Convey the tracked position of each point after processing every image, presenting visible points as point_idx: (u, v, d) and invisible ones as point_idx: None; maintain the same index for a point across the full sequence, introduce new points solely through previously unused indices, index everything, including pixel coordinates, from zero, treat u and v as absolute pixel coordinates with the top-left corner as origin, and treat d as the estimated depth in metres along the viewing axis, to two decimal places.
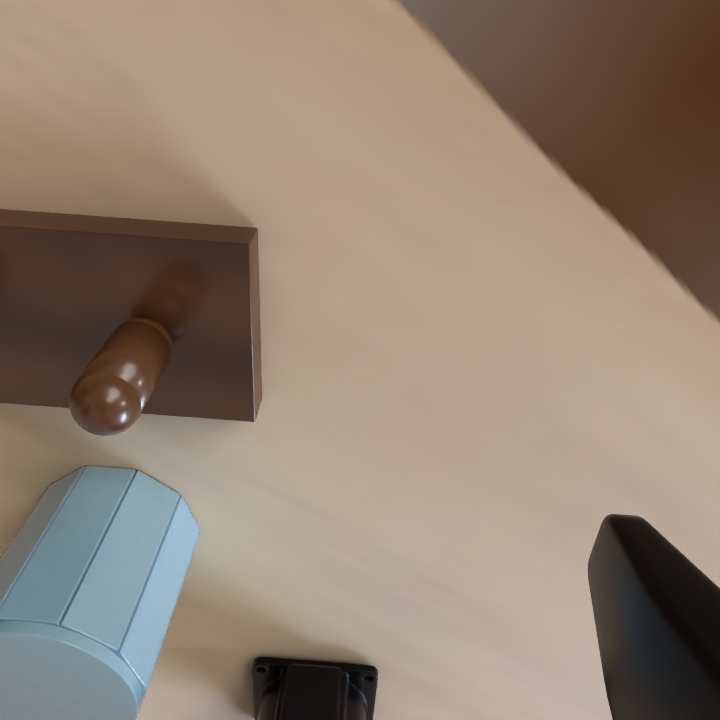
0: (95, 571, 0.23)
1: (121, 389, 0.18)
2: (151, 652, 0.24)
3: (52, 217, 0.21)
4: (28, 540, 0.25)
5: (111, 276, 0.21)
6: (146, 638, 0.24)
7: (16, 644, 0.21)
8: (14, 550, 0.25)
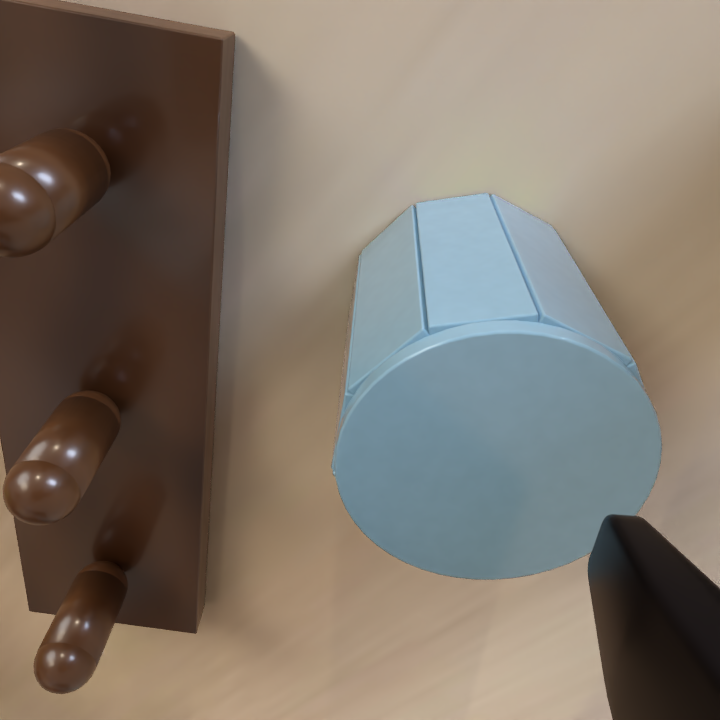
0: (360, 329, 0.15)
1: None
2: (507, 290, 0.13)
3: None
4: None
5: None
6: (478, 290, 0.14)
7: (361, 458, 0.14)
8: None
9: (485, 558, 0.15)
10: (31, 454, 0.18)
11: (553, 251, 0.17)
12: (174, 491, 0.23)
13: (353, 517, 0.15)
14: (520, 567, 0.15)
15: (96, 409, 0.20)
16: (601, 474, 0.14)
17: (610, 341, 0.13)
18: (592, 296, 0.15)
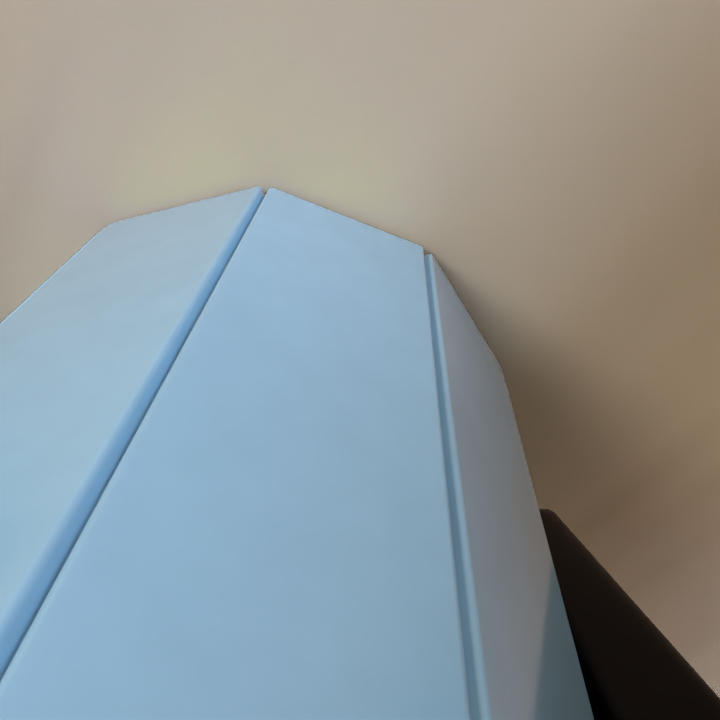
0: None
1: None
2: None
3: None
4: None
5: None
6: None
7: None
8: None
9: None
10: None
11: (371, 332, 0.06)
12: None
13: None
14: None
15: None
16: None
17: None
18: (437, 516, 0.04)
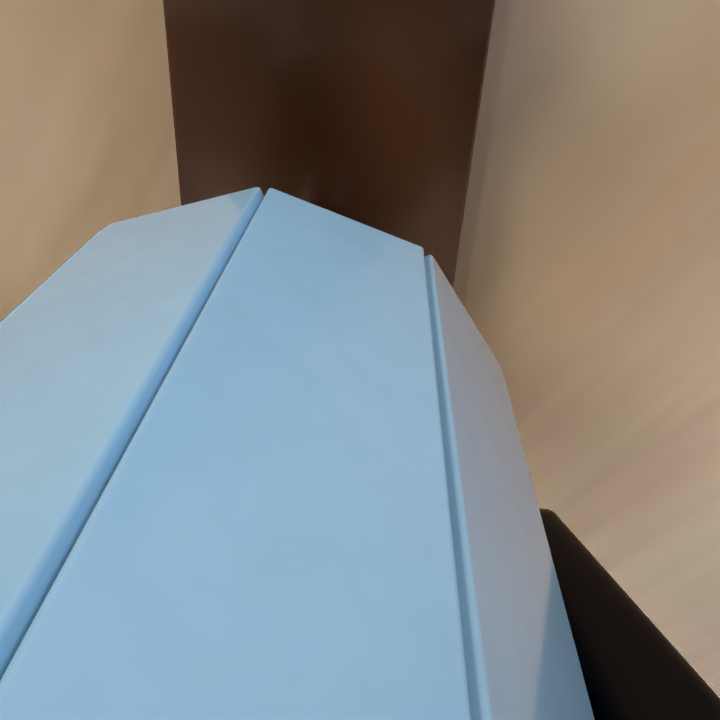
0: None
1: None
2: None
3: None
4: None
5: None
6: None
7: None
8: None
9: None
10: None
11: (371, 333, 0.06)
12: (442, 41, 0.14)
13: None
14: None
15: None
16: None
17: None
18: (437, 519, 0.04)
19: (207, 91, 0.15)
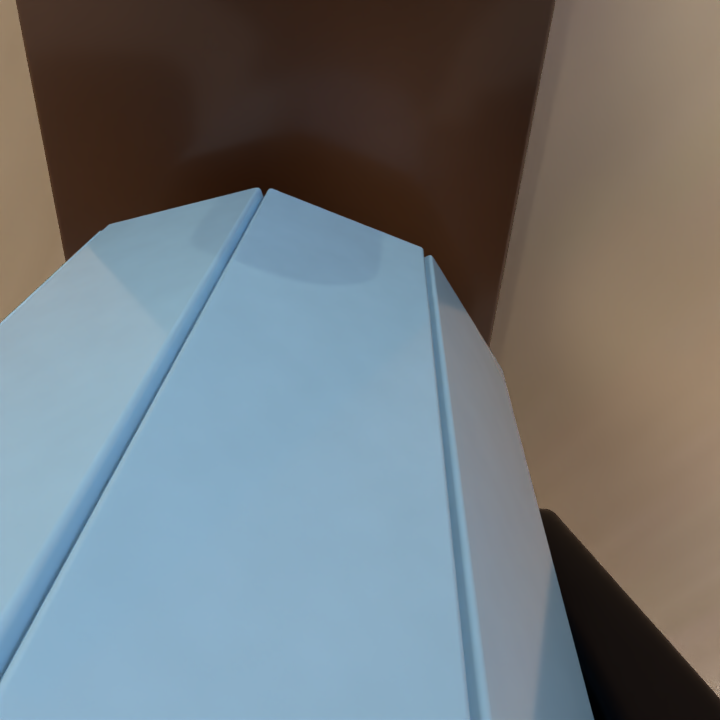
0: None
1: None
2: None
3: None
4: None
5: None
6: None
7: None
8: None
9: None
10: None
11: (371, 334, 0.06)
12: (464, 92, 0.09)
13: None
14: None
15: None
16: None
17: None
18: (437, 520, 0.04)
19: (102, 165, 0.10)
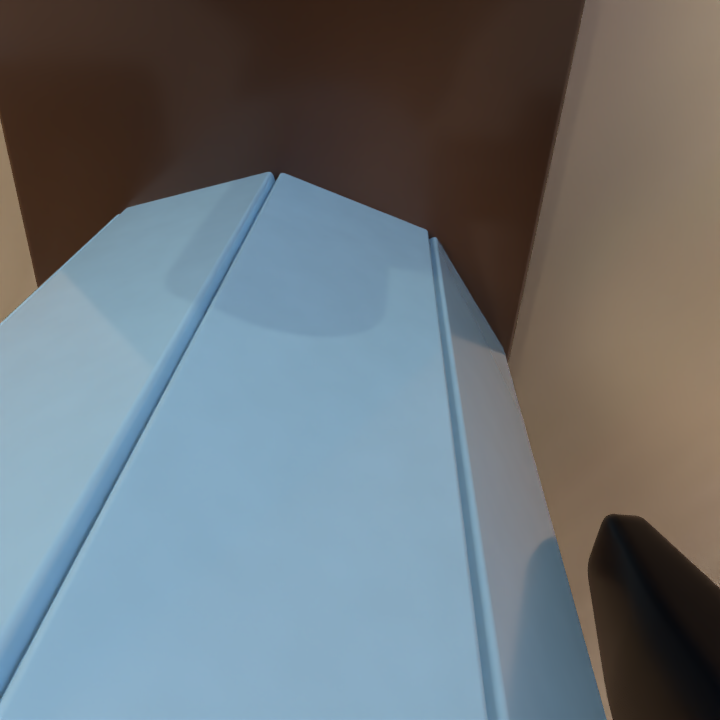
0: None
1: None
2: None
3: None
4: None
5: None
6: None
7: None
8: None
9: None
10: None
11: (380, 304, 0.06)
12: (480, 102, 0.08)
13: None
14: None
15: None
16: None
17: None
18: (445, 465, 0.05)
19: (75, 183, 0.09)
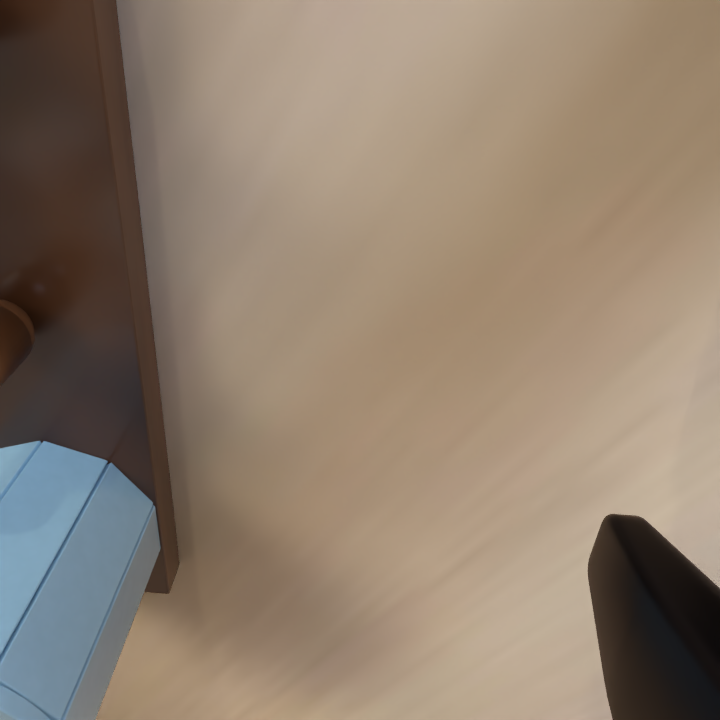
0: None
1: None
2: None
3: None
4: None
5: None
6: None
7: None
8: None
9: None
10: None
11: (52, 513, 0.19)
12: (115, 420, 0.20)
13: None
14: None
15: None
16: None
17: None
18: (37, 577, 0.17)
19: None
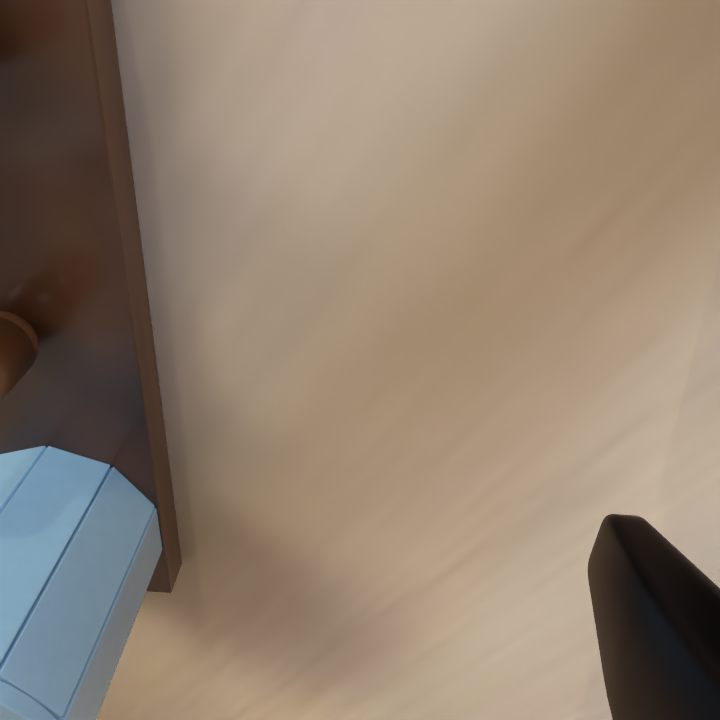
0: None
1: None
2: None
3: None
4: None
5: None
6: None
7: None
8: None
9: None
10: None
11: (56, 517, 0.20)
12: (117, 427, 0.21)
13: None
14: None
15: (3, 326, 0.18)
16: None
17: None
18: (41, 579, 0.18)
19: None
